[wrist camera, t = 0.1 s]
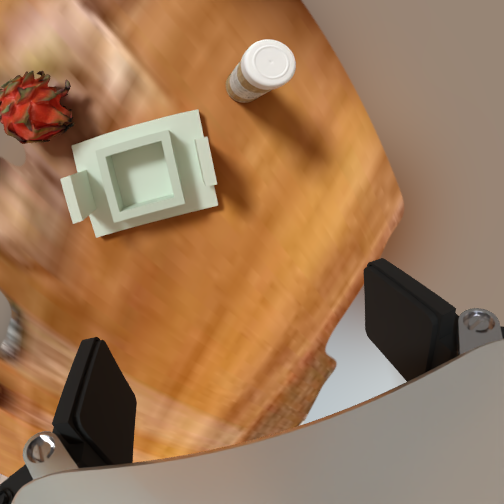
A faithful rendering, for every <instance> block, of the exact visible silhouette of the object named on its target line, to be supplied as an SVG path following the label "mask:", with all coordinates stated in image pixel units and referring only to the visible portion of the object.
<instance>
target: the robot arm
mask: <svg viewBox="0 0 504 504" xmlns="http://www.w3.org/2000/svg"><path fill="white" fill-rule="evenodd" d="M364 289H365V330H366V333H367V336H368V337H369V339H370V340H371V341H372V342H373V343H374V344H375V345H376V347H377V348H378V349H379V350H380V351H381V352H382V353H383V354H384V355H385V357H386V358H387V359H388V360H389V361H390V362H391V364H392V365H393V366H394V367H395V368H396V369H397V370H398V372H399V373H400V374H401V375H402V376H403V377H404V379H405V380H406V381H407V382H406V383H404V384H402V385H400V386H398V387H395V388H393V389H391V390H389V391H387V392H385V393H383V394H380V395H378V396H376V397H374V398H371V399H369V400H367V401H364V402H362V403H359V404H357V405H355V406H352V407H350V408H347V409H345V410H342V411H339V412H337V413H334V414H332V415H329V416H326V417H324V418H321V419H318V420H315V421H312V422H309V423H307V424H304V425H301V426H298V427H295V428H291V429H288V430H285V431H282V432H279V433H275V434H272V435H268V436H265V437H261V438H258V439H254V440H250V441H247V442H243V443H239V444H235V445H231V446H226V447H222V448H218V449H213V450H208V451H204V452H199V453H194V454H188V455H183V456H177V457H171V458H165V459H158V460H151V461H143V462H136V463H132V461H133V443H134V428H135V416H136V404H137V402H136V397H135V395H134V393H133V391H132V390H131V388H130V386H129V384H128V383H127V381H126V379H125V377H124V376H123V374H122V372H121V370H120V369H119V367H118V365H117V363H116V361H115V359H114V358H113V356H112V354H111V352H110V350H109V348H108V346H107V344H106V342H105V341H104V340H100V339H99V338H98V337H94V338H90V339H85V340H82V342H81V344H80V346H79V349H78V351H77V354H76V357H75V359H74V362H73V364H72V367H71V370H70V372H69V375H68V378H67V381H66V383H65V386H64V389H63V392H62V395H61V398H60V401H59V404H58V407H57V410H56V413H55V416H54V419H53V422H52V425H53V426H54V429H53V432H49V431H44V432H40V433H37V434H35V435H34V436H32V437H31V438H30V439H29V440H28V442H27V443H26V444H25V447H24V449H23V458H24V461H25V463H26V464H25V465H24V466H23V467H22V468H20V469H19V470H18V471H17V472H15V473H14V474H13V475H11V476H10V477H9V478H8V479H6V480H5V481H4V482H2V483H1V484H0V504H504V327H501V326H500V323H499V320H498V318H497V317H496V316H495V315H494V314H493V313H492V312H490V311H488V310H485V309H479V308H474V309H469V310H466V311H464V312H463V313H461V315H460V316H458V315H457V314H456V313H455V311H456V308H455V307H453V306H452V305H450V304H449V303H448V302H446V301H445V300H444V299H442V298H441V297H439V296H438V295H437V294H435V293H434V292H432V291H431V290H429V289H428V288H426V287H425V286H424V285H422V284H421V283H419V282H418V281H417V280H415V279H413V278H412V277H411V276H409V275H408V274H406V273H405V272H403V271H402V270H400V269H399V268H397V267H396V266H394V265H393V264H391V263H390V262H388V261H387V260H385V259H383V258H381V259H378V260H375V261H372V262H369V263H368V264H367V267H366V268H365V269H364Z"/></svg>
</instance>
